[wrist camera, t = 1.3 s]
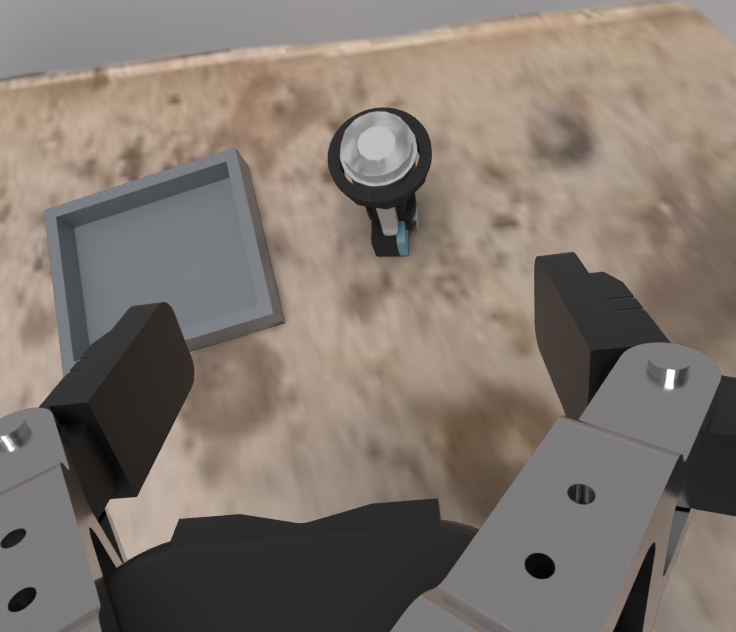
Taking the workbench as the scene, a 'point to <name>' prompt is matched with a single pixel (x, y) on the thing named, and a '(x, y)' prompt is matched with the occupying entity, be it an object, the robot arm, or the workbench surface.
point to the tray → (164, 256)
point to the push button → (382, 172)
